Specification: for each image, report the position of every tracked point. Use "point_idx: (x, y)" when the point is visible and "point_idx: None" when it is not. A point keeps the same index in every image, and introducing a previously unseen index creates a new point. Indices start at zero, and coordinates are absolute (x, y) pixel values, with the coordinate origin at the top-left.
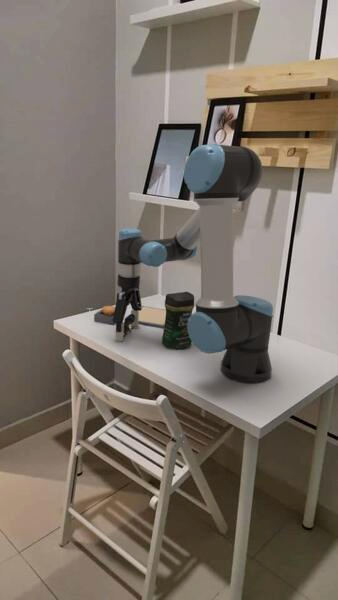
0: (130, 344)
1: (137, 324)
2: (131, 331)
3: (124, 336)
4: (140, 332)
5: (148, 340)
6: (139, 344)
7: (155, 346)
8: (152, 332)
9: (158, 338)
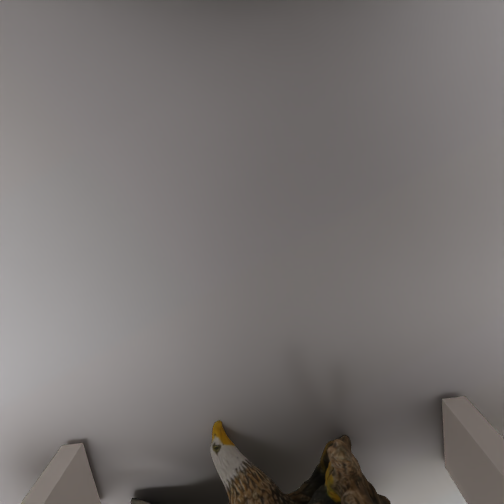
0: (486, 297)
1: (59, 481)
2: (217, 445)
3: (349, 439)
4: (138, 373)
5: (283, 193)
6: (440, 219)
7: (404, 24)
8: (53, 273)
9: (161, 124)
